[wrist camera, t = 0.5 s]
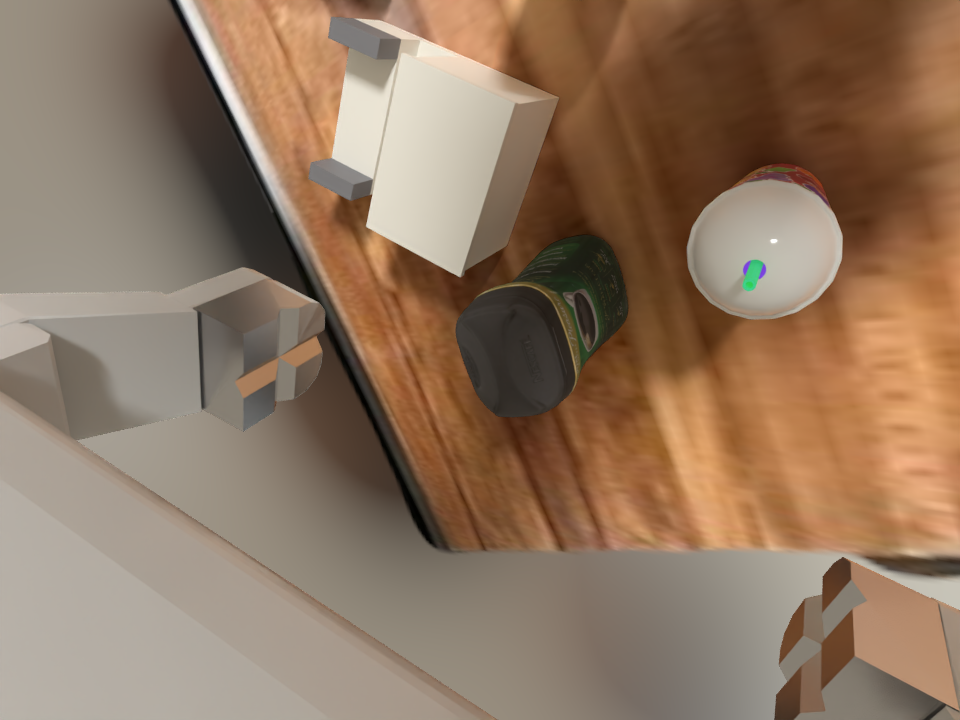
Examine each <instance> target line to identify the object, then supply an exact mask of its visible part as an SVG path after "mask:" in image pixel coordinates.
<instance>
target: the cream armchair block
mask: <svg viewBox="0 0 960 720" xmlns="http://www.w3.org/2000/svg"><path fill="white" fill-rule="evenodd" d="M328 38H330V39H332V40H334V41H336V42H339V43H341V44H343V45H345V46H348V47H349V53H348V59H347V65H346V72H345V78H344V84H343V91H342V97H341V103H340V110H339V116H338V122H337V128H336V135H335V141H334V147H333V154H332V158H330V159H325V160H320V161H315V162H311V165H310V172H309V179H310V180H312V181H314V182H316V183H318V184H320V185H321V186H323V187H325V188H327V189H329V190H331V191H333V192H335V193H337V194H338V195H340V196H342V197H344V198H346V199H348V200H350V201H352V200H355V199H358V198H362V197H365V196H368V195H371V194H373V195H372V200H371V205H370V210H369V214H368V219H367V224H366V227H367V228H369V229H371V230H373V231H375V232H377V233H378V234H380V235H382V236H384V237H386V238H388V239H390V240H391V241H393V242H395V243H397V244H399V245H401V246H403V247H404V248H406V249H408V250H410V251H412V252H414V253H416V254H417V255H419V256H421V257H423V258H425V259H427V260H429V261H430V262H432V263H434V264H436V265H438V266H440V267H442V268H444V269H445V270H447V271H449V272H451V273H453V274H455V275H457V276H458V277H462V276H463V275H464V273H465V270H467V269H469V268H470V267H472V266H474V265H475V264H477V263H479V262H480V261H482V260H484V259H486V258H487V257H489V256H491V255H492V254H494V253H496V252H497V251H499V250H501V249H502V248H504V247H506V246H507V244H508V241H509V239H510V236H511V233H512V230H513V227H514V224H515V222H516V219H517V216H518V213H519V210H520V207H521V205H522V202H523V199H524V196H525V193H526V190H527V188H528V185H529V182H530V179H531V176H532V173H533V171H534V168H535V165H536V162H537V159H538V156H539V154H540V151H541V148H542V145H543V142H544V139H545V137H546V134H547V131H548V128H549V125H550V122H551V120H552V117H553V114H554V111H555V108H556V105H557V103H558V100H559V97H557V96H555V95H552V94H550V93H548V92H545V91H543V90H541V89H538V88H536V87H534V86H531V85H529V84H527V83H525V82H522V81H520V80H518V79H515V78H513V77H511V76H508V75H506V74H504V73H501V72H499V71H497V70H494V69H492V68H490V67H488V66H485V65H483V64H481V63H478V62H476V61H474V60H471V59H469V58H467V57H464V56H462V55H460V54H457V53H455V52H453V51H451V50H448V49H446V48H444V47H441V46H439V45H437V44H434V43H432V42H430V41H427V40H425V39H423V38H421V37H418V36H416V35H414V34H411V33H409V32H407V31H404V30H402V29H400V28H397V27H395V26H393V25H390V24H388V23H386V22H384V21H381V20H368V19H354V18H341V17H331V22H330V29H329V36H328Z"/></svg>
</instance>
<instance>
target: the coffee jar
mask: <svg viewBox="0 0 960 720" xmlns="http://www.w3.org/2000/svg"><path fill="white" fill-rule="evenodd" d="M627 314H628V301H627V295H626V289H625V284H624V281H623V277H622V273H621V270H620V267H619V264H618V262H617V259H616V256H615V255H614V252H613V250H612V248H611V247H610V246H609V245H608V244H607V243H606V242H605V241H604V240H602V239H601V238H599V237H596V236H592V235H580V236H574V237H569V238H565V239H562V240H559V241H556V242H554V243H552V244H551V245H549V246H548V247H546V248H545V249H544V250H543V251H541V252H540V253H539V254H538V255H537V256H536V257H535V258H534V259H533V260H532V262H531V263H530V264H529V265H528V266H527V267H526V268H525V269H524V270H523V271H522V272H521V273H520V274H519V276H518V277H517V278H516V279H514V280H513V281H512V282H511V283H507V284H503V285H500V286H496V287H494V288H491V289H489V290H487V291H485V292H483V293H481V294H480V295H478V296H477V297H476V298H475V299H474V301H473V302H472V303H471V304H470V305H469V306H468V307H467V308H466V309H465V310H464V311H463V313H462V314H461V315H460V317H459V318H458V320H457V324H456V338H457V342H458V345H459V348H460V352H461V355H462V358H463V361H464V364H465V366H466V369H467V372H468V374H469V377H470V379H471V381H472V384H473V386H474V389H475V391H476V393H477V395H478V397H479V398H480V400H481V401H482V402H483V403H484V405H485V406H486V407H487V408H488V409H489V410H491V411H492V412H493V413H495V415H497V416H499V417H524V416H532V415H538V414H541V413H545V412H547V411H549V410H550V409H552V408H554V407H555V406H557V405H558V404H559V403H560V402H561V401H563V400H564V399H565V398H566V397H567V396H569V395H570V394H571V392H572V391H573V390H574V388H575V386H576V383H577V381H578V378H579V375H580V372H581V369H582V367H583V365H584V364H585V362H586V361H587V360H588V358H589V357H590V356H591V355H592V354H593V353H594V352H595V351H596V350H597V349H598V348H599V347H600V346H601V345H602V344H603V343H604V342H605V341H607V340H608V339H609V338H610V337H611V336H612V335H613V334H614V333H615V332H616V331H617V330H618V329H619V328H620V327H621V326H622V324H623V323H624V321H625V320H626V317H627Z"/></svg>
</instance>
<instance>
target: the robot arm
mask: <svg viewBox="0 0 960 720" xmlns="http://www.w3.org/2000/svg"><path fill="white" fill-rule="evenodd" d="M324 327H325V310H324V309H323V307H322V306H321V305H320V303H318V302H316V301H314V300H312V299H310V298H308V297H306V296H304V295H302V294H300V293H299V292H297V291H295V290H293V289H291V288H289V287H287V286H285V285H283V284H281V283H279V282H277V281H275V280H272V279H271V278H269V277H267V276H265V275H263V274H261V273H258V272H257V271H255V270H252V269H247V268H240V269H237V270H234V271H231V272H228V273H226V274H223V275H220V276H217V277H215V278H212V279H209V280H206V281H204V282H201V283H198V284H195V285H192V286H190V287H187V288H184V289H181V290H178V291H176V292H173V293H170V294H167V295H165V294H163V293H161V292H159V291H157V292H155V291H153V292H87V293H21V294H0V720H497V719H496V718H494V717H493V716H491V715H489V714H488V713H487V712H485V711H483V710H482V709H480V708H479V707H477V706H476V705H474V704H473V703H471V702H470V701H468V700H467V699H465V698H464V697H462V696H461V695H459V694H458V693H456V692H455V691H453V690H452V689H450V688H449V687H447V686H446V685H444V684H442V683H441V682H439V681H438V680H436V679H435V678H433V677H432V676H431V675H429V674H427V673H426V672H424V671H423V670H421V669H420V668H418V667H417V666H415V665H414V664H412V663H411V662H409V661H408V660H406V659H405V658H403V657H402V656H400V655H399V654H397V653H396V652H394V651H393V650H391V649H390V648H388V647H387V646H385V645H384V644H382V643H381V642H379V641H378V640H376V639H375V638H373V637H371V636H370V635H369V634H367V633H366V632H364V631H363V630H361V629H360V628H358V627H357V626H355V625H353V624H352V623H351V622H349V621H348V620H346V619H345V618H343V617H341V616H340V615H339V614H337V613H336V612H334V611H333V610H331V609H329V608H328V607H326V606H325V605H323V604H322V603H320V602H319V601H317V600H316V599H314V598H313V597H311V596H310V595H308V594H307V593H305V592H304V591H302V590H301V589H299V588H298V587H296V586H295V585H293V584H292V583H290V582H289V581H287V580H286V579H284V578H283V577H281V576H280V575H278V574H277V573H275V572H274V571H272V570H271V569H269V568H268V567H266V566H265V565H263V564H262V563H260V562H259V561H257V560H256V559H254V558H253V557H251V556H250V555H248V554H247V553H245V552H244V551H242V550H240V549H239V548H238V547H236V546H235V545H233V544H232V543H230V542H229V541H227V540H225V539H224V538H222V537H221V536H219V535H218V534H216V533H215V532H213V531H212V530H210V529H209V528H207V527H206V526H204V525H203V524H201V523H200V522H198V521H197V520H195V519H194V518H192V517H191V516H189V515H188V514H186V513H185V512H183V511H182V510H180V509H179V508H177V507H176V506H174V505H173V504H171V503H170V502H168V501H167V500H165V499H164V498H162V497H161V496H159V495H157V494H156V493H155V492H153V491H151V490H150V489H148V488H147V487H145V486H144V485H142V484H141V483H139V482H138V481H136V480H135V479H133V478H132V477H130V476H129V475H127V474H125V473H124V472H123V471H121V470H120V469H118V468H117V467H115V466H114V465H112V464H111V463H109V462H108V461H106V460H104V459H103V458H102V457H100V456H98V455H97V454H96V453H94V452H93V451H91V450H90V449H88V448H87V447H85V446H83V445H82V444H81V443H79V442H78V441H76V440H80V439H85V438H89V437H93V436H97V435H102V434H107V433H111V432H115V431H120V430H124V429H128V428H133V427H137V426H142V425H146V424H151V423H155V422H159V421H164V420H168V419H173V418H177V417H181V416H186V415H190V414H194V413H199V412H201V411H202V410H205V411H206V412H208V413H210V414H212V415H214V416H215V417H217V418H219V419H221V420H223V421H224V422H226V423H228V424H230V425H232V426H234V427H235V428H237V429H239V430H241V431H243V432H244V431H245V430H247V429H248V428H250V427H251V426H253V425H255V424H256V423H258V422H259V421H261V420H262V419H264V418H265V417H267V416H269V415H270V414H272V413H273V412H274V411H275V406H276V402H277V401H283V400H290V399H295V398H296V397H298V396H299V395H300V394H302V393H304V392H305V391H306V390H307V389H308V388H309V386H310V385H311V384H312V382H313V381H314V380H315V378H316V377H317V374H318V372H319V369H320V366H321V361H322V349H321V347H320V344H319V342H318V340H317V337H316V336H317V335H318V334H319V333H320V332H321V331H323V330H324ZM779 667H780V668H781V670H782V672H783V674H784V676H785V678H786V680H787V683H786V684H785V685H784V686H783V688H782V689H781V690H780V691H779V692H778V694H777V695H776V706H775V718H774V720H960V610H958V609H956V608H953V607H951V606H949V605H947V604H945V603H942V602H940V601H938V600H936V599H934V598H929V597H926V596H924V595H922V594H920V593H918V592H916V591H914V590H912V589H910V588H907V587H905V586H903V585H901V584H899V583H897V582H895V581H893V580H891V579H888V578H886V577H884V576H882V575H880V574H878V573H876V572H874V571H872V570H869V569H867V568H865V567H863V566H861V565H859V564H857V563H854V562H852V561H850V560H848V559H846V558H844V557H842V558H841V559H839V560H838V561H836V562H835V563H834V564H833V565H832V566H831V568H829V570H828V571H827V572H826V573H825V574H824V576H823V589H822V595H818V596H813V597H809V598H805V599H804V601H803V602H802V603H801V605H800V606H799V608H798V609H797V610H796V612H795V613H794V614H793V616H792V618H791V620H790V622H789V625H788V627H787V629H786V631H785V633H784V637H783V641H782V645H781V649H780V658H779Z"/></svg>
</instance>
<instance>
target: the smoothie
mask: <svg viewBox="0 0 960 720" xmlns="http://www.w3.org/2000/svg"><path fill="white" fill-rule="evenodd" d="M842 244H843V235H842V232H841V230H840V227H839V224H838V222H837V219H836V216H835V214H834V213H833V211H832V209H831V207H830V204H829V202H828V199H827V196H826V194H825V191H824V189H823V186H822V184H821V182H820V181H819V180H818V179H817V178H816V177H815V176H814V175H813V174H812V173H811V172H809V171H807V170H805V169H803V168H801V167H799V166H797V165H791V164H783V163H779V164H773V165H767V166H763V167H761V168H759V169H757V170H755V171H753V172H751V173H749V174H748V175H747V176H745V177H744V178H743V179H741V180H740V181H739V182H738V183H736V184H735V185H734V186H732V187H731V188H730V189H728V190H727V191H725V192H723V193H722V194H720V195H719V196H718V197H717V198H716V199H714V200H713V201H712V202H711V203H710V204H708V205H707V206H706V207H705V208H704V209H703V211H702V212H701V214H700V215H699V217H698V218H697V220H696V222H695V223H694V225H693V226H692V229H691V233H690V236H689V240H688V244H687V261H688V269H689V272H690V274H691V276H692V279H693V281H694V283H695V286H696V288H697V289H698V290H699V291H700V292H701V293H702V294H703V295H704V297H705V298H706V299H707V300H708V301H709V302H710V303H711V304H713V305H715V306H716V307H718V308H720V309H721V310H723V311H725V312H726V313H728V314H731V315H735V316H739V317H743V318H746V319H750V320H753V319H776V318H779V317H783V316H786V315H789V314H793V313H796V312H798V311H800V310H801V309H803V308H805V307H806V306H808V305H809V304H811V303H812V302H814V301H816V300H817V299H818V298H819V297H820V296H821V295H822V294H823V292H824V291H825V290H826V289H827V288H828V287H829V285H830V284H831V283H832V282H833V281H834V278H835V276H836V273H837V271H838V268H839V266H840V263H841V260H842Z"/></svg>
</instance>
